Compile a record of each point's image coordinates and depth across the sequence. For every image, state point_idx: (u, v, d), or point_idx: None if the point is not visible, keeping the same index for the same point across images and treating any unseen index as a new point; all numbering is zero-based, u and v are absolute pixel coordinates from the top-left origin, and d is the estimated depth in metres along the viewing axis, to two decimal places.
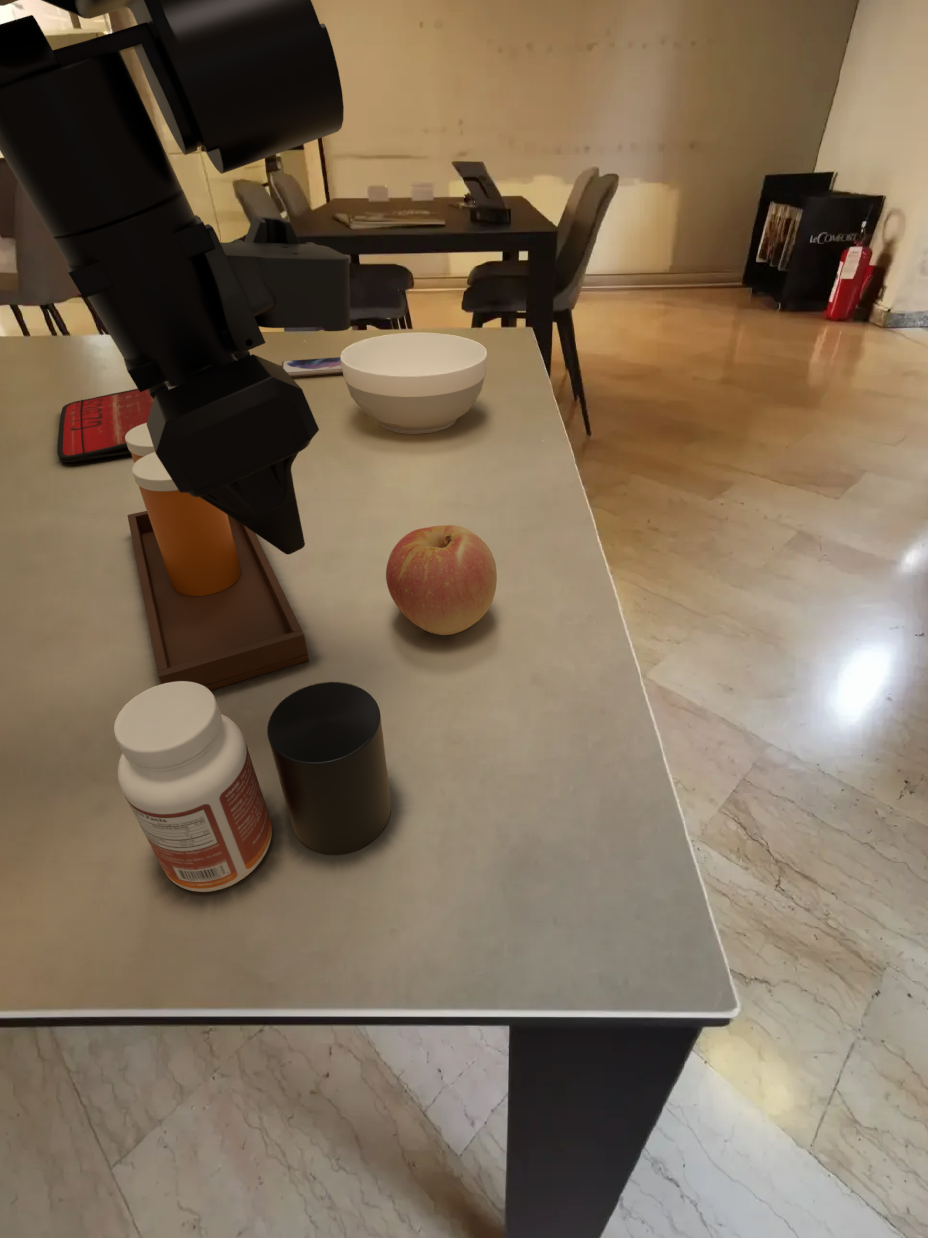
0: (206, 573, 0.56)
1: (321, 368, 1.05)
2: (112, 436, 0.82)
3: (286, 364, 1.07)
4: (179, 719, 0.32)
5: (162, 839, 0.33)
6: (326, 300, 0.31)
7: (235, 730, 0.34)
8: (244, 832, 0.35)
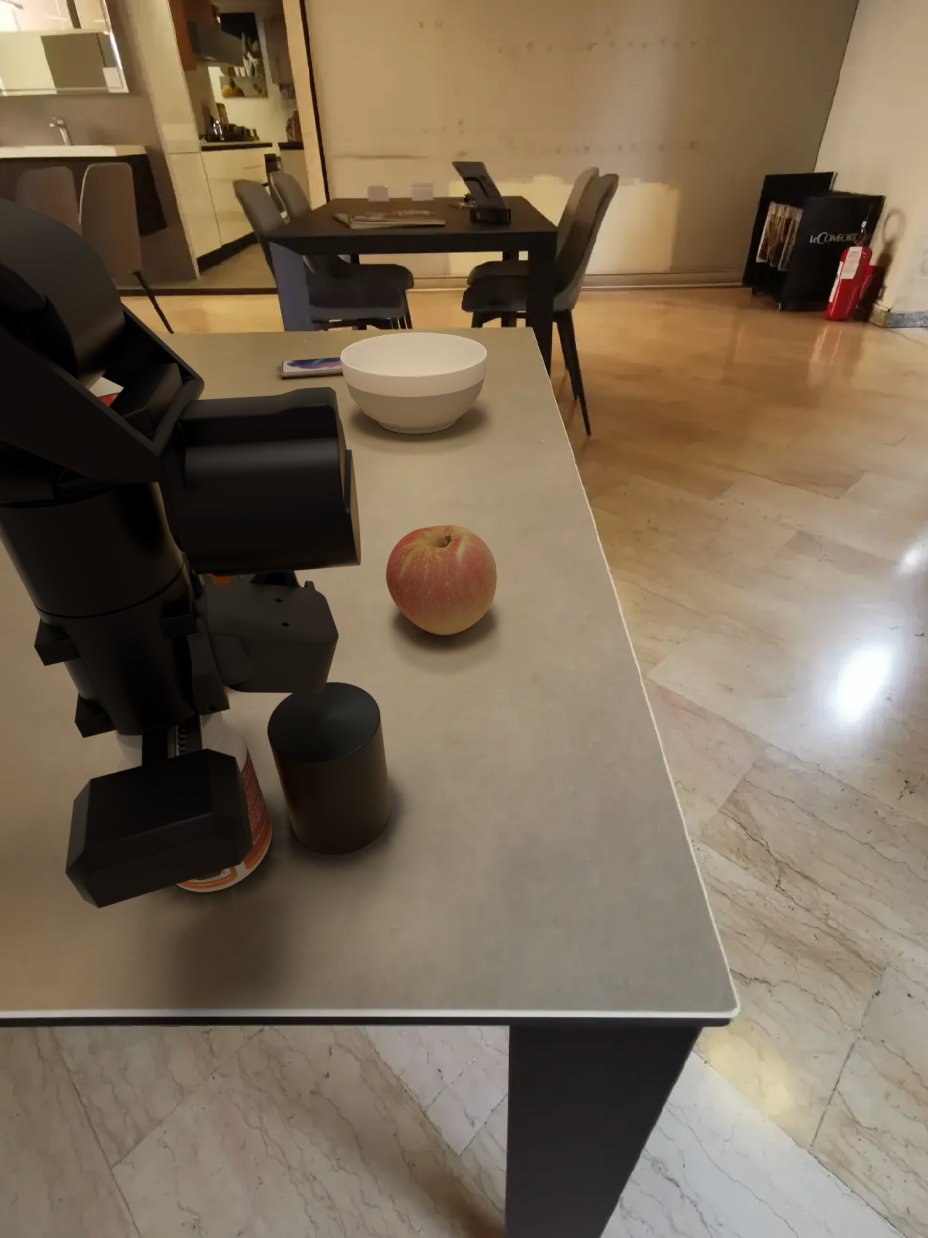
0: None
1: (321, 368, 1.05)
2: None
3: (286, 364, 1.07)
4: None
5: None
6: (304, 674, 0.30)
7: (235, 730, 0.34)
8: None
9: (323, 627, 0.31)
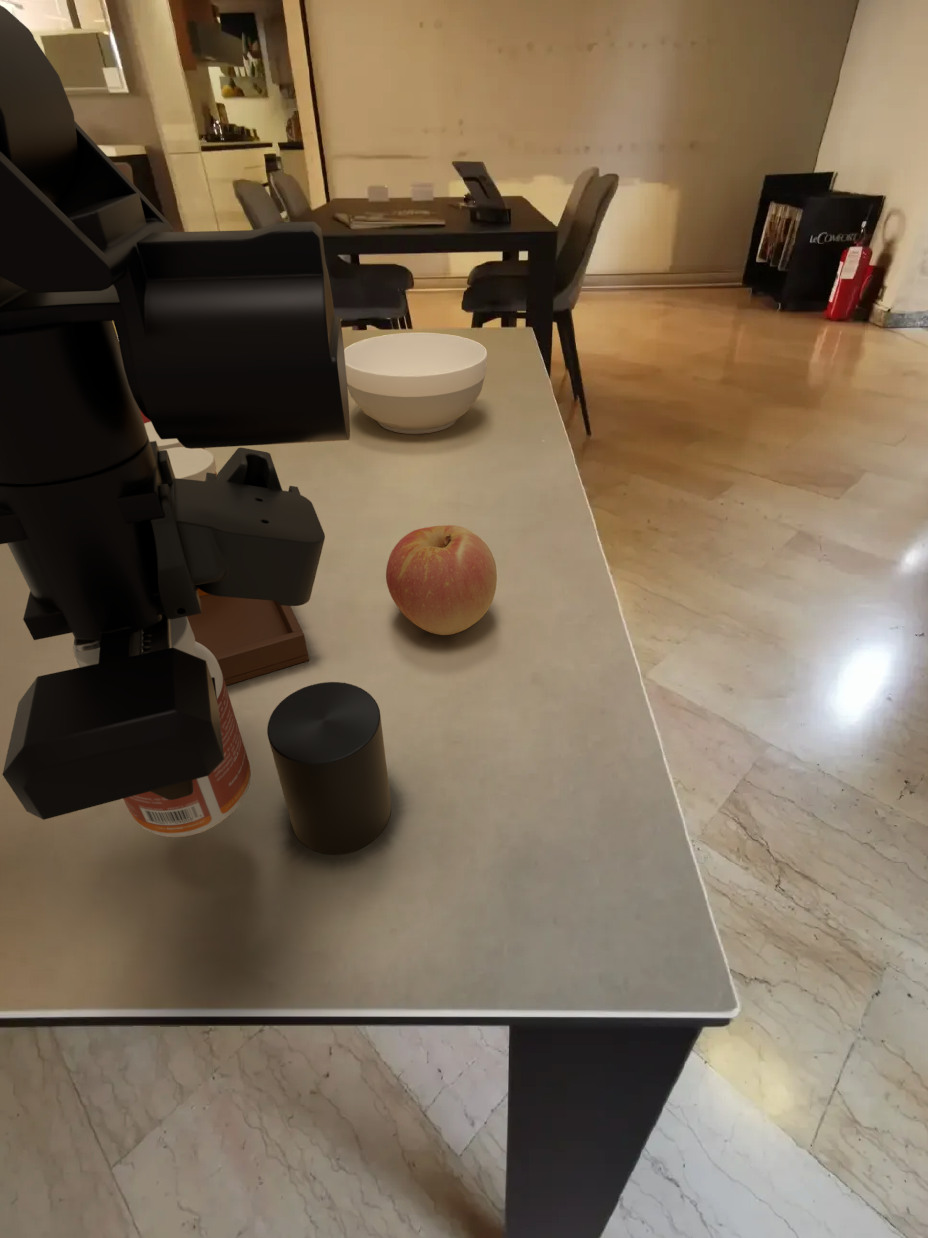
0: None
1: None
2: None
3: None
4: None
5: None
6: (286, 578, 0.27)
7: (210, 657, 0.31)
8: (219, 771, 0.32)
9: (308, 528, 0.28)
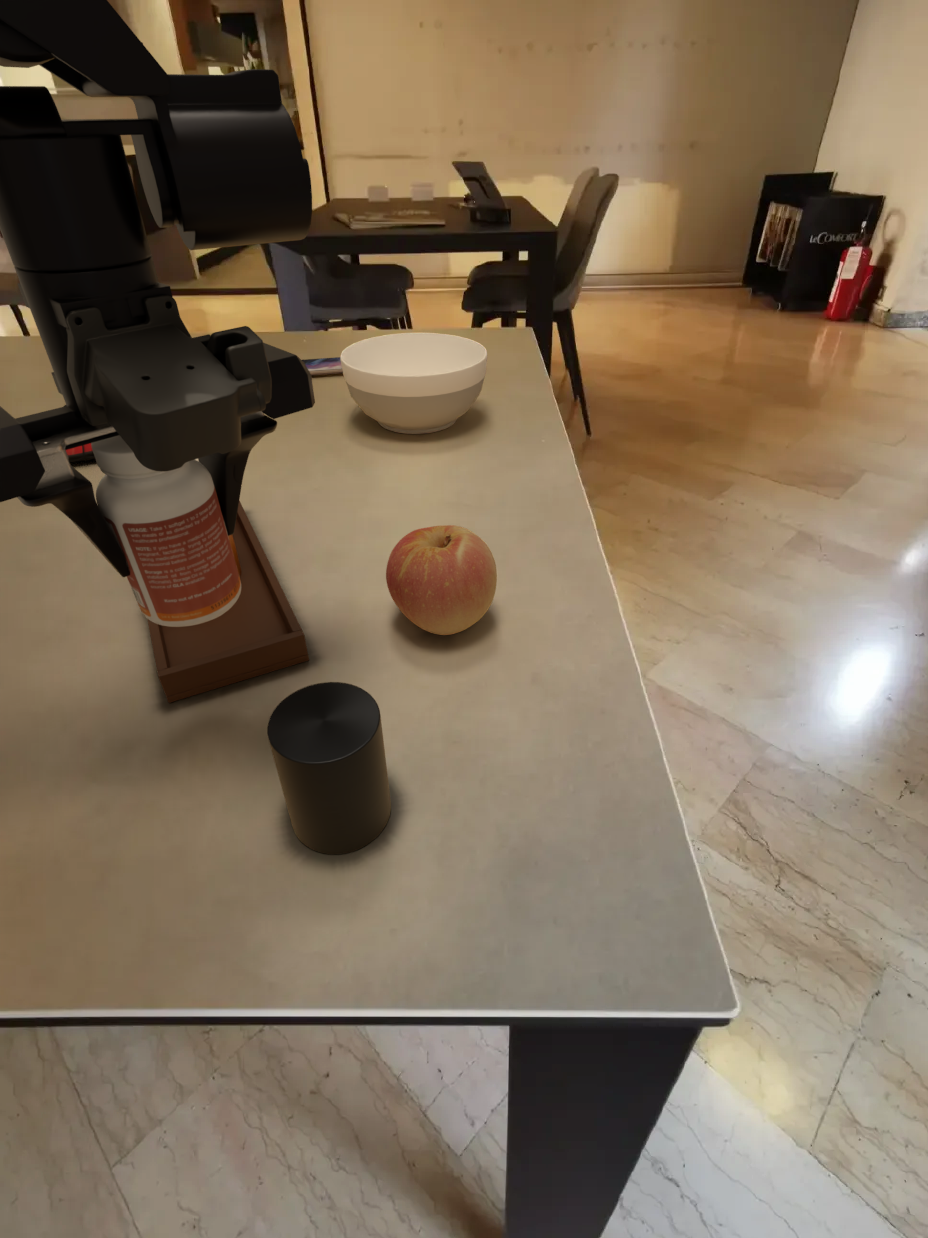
0: None
1: (321, 368, 1.05)
2: None
3: None
4: None
5: None
6: (130, 433, 0.29)
7: (179, 492, 0.36)
8: (153, 581, 0.38)
9: (165, 402, 0.28)
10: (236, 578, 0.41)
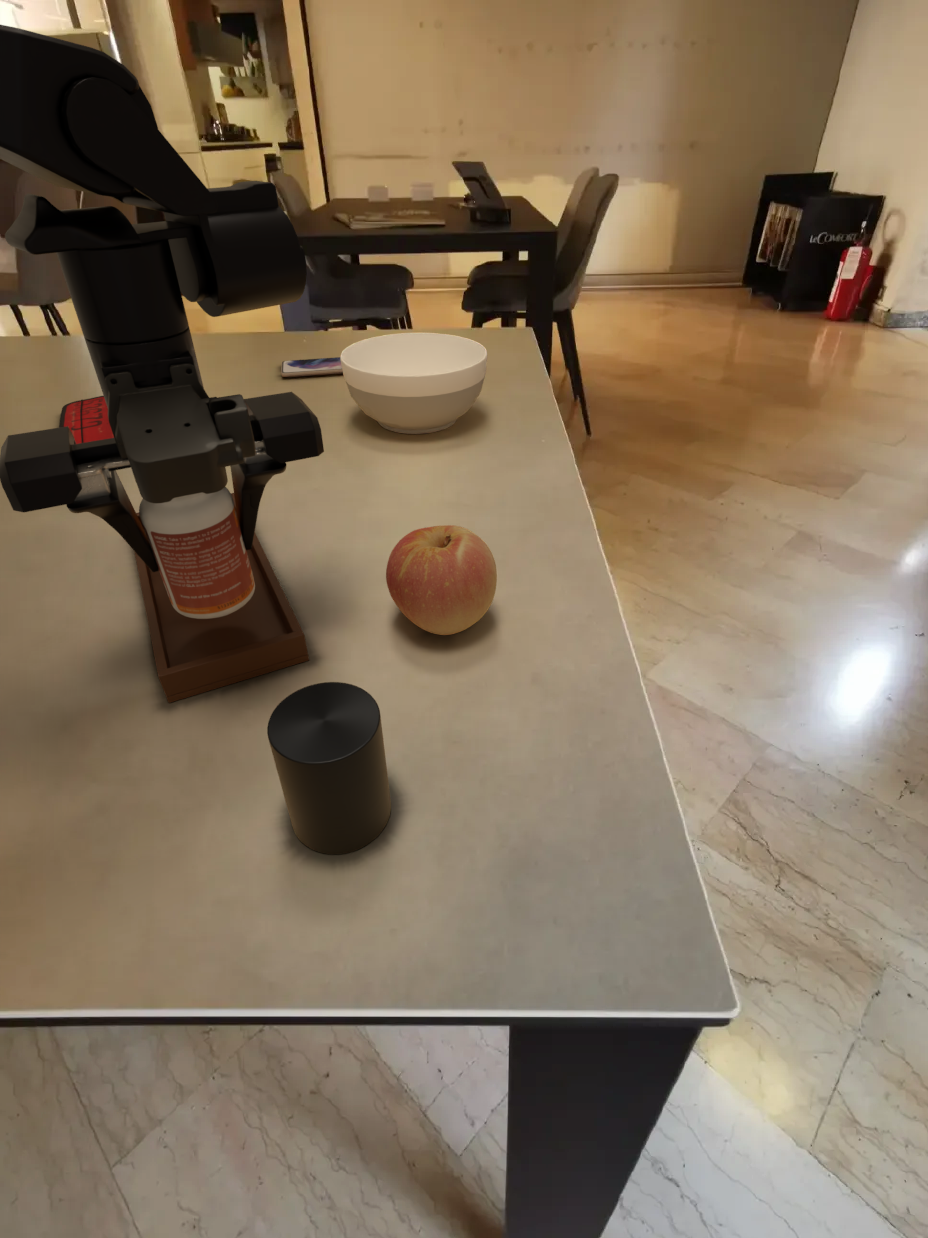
0: None
1: (321, 368, 1.05)
2: (112, 436, 0.82)
3: (286, 364, 1.07)
4: None
5: None
6: None
7: (194, 514, 0.44)
8: (172, 579, 0.46)
9: (154, 452, 0.35)
10: (246, 586, 0.49)
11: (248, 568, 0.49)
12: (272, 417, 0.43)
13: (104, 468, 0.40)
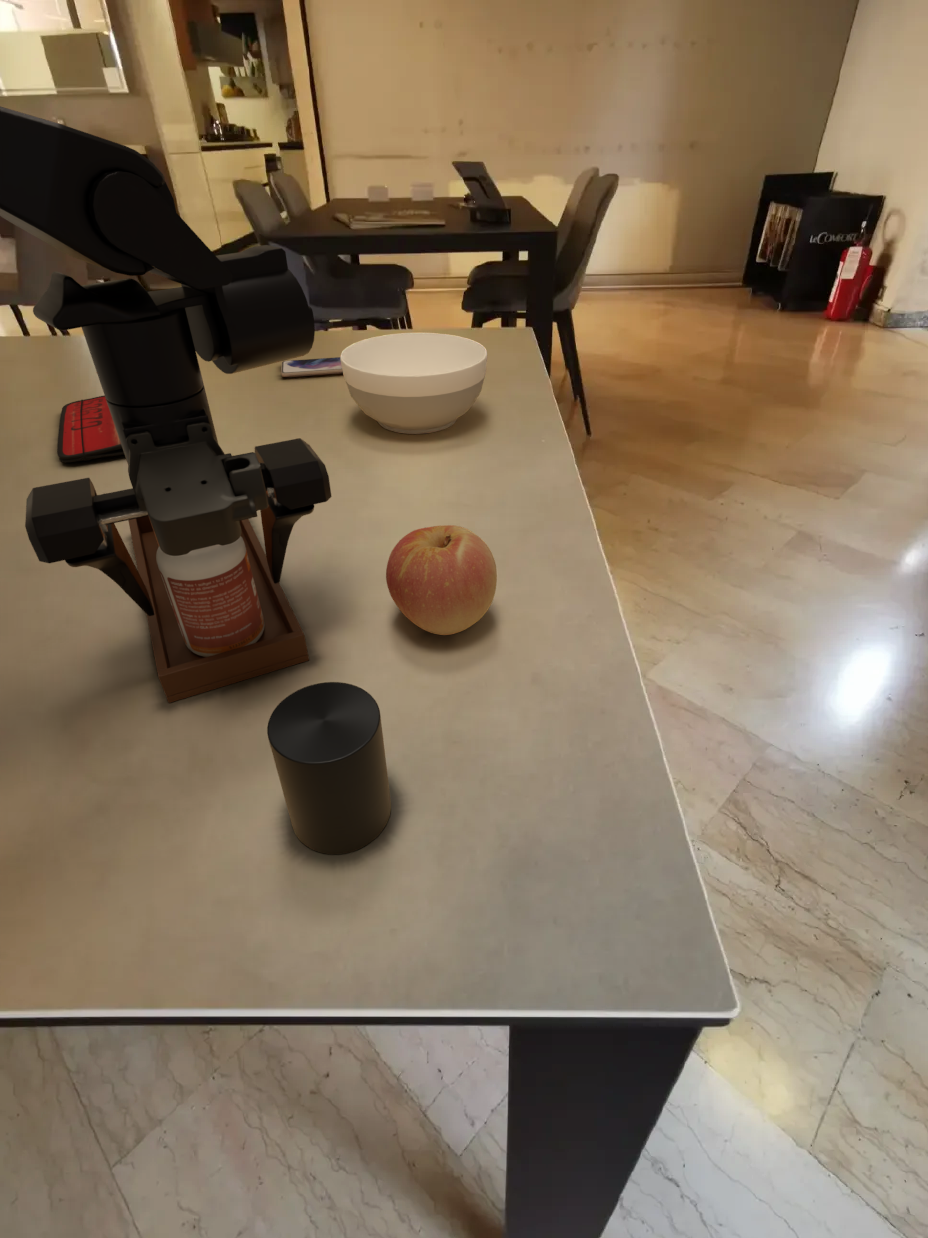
0: None
1: (321, 368, 1.05)
2: (112, 436, 0.82)
3: (286, 364, 1.07)
4: None
5: None
6: None
7: (209, 561, 0.46)
8: (187, 621, 0.49)
9: (173, 511, 0.38)
10: (256, 626, 0.51)
11: (258, 609, 0.52)
12: (282, 467, 0.45)
13: (124, 519, 0.43)
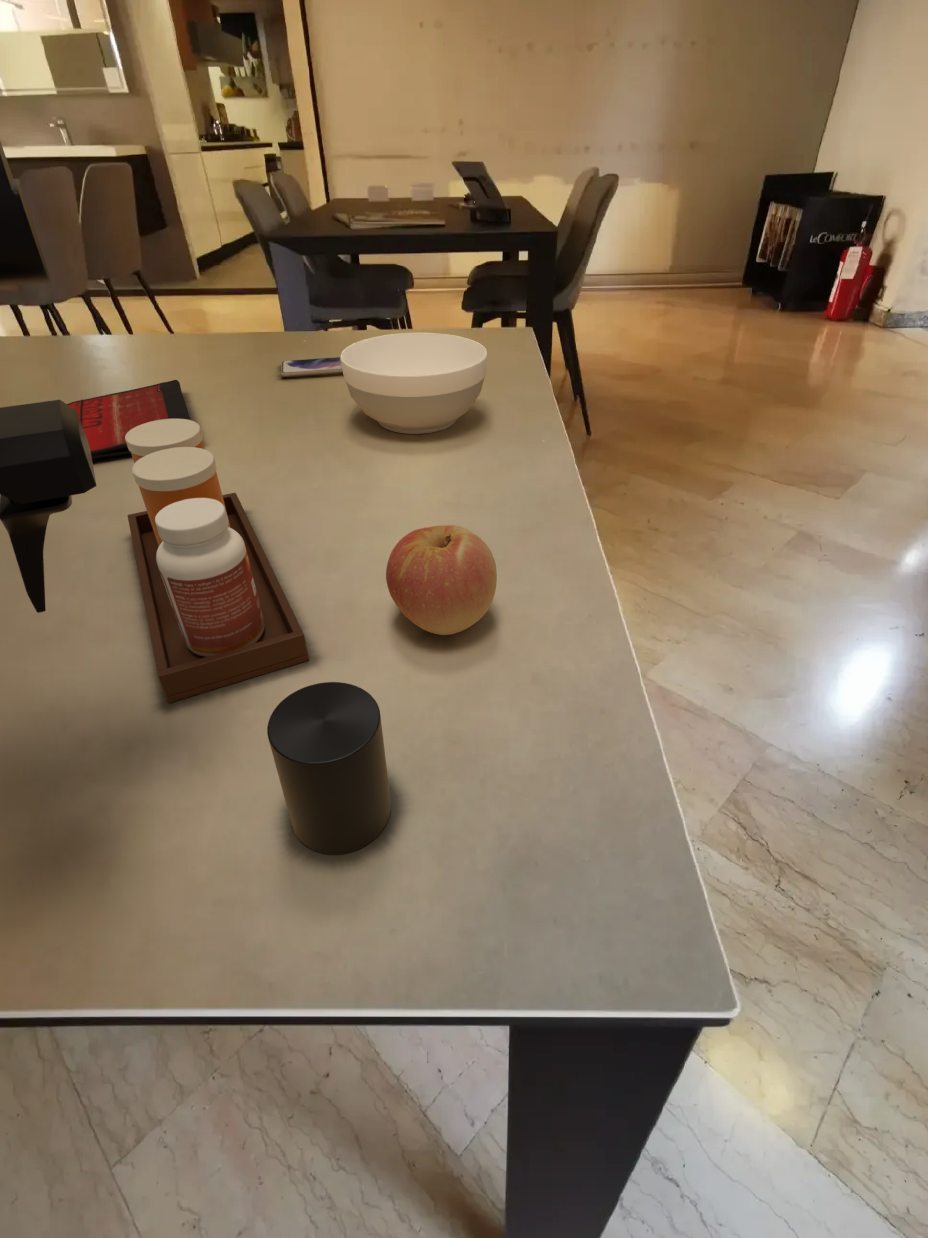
0: None
1: (321, 368, 1.05)
2: (112, 436, 0.82)
3: (286, 364, 1.07)
4: (182, 518, 0.46)
5: None
6: None
7: (209, 561, 0.46)
8: (187, 621, 0.49)
9: None
10: (256, 626, 0.51)
11: (258, 609, 0.52)
12: (2, 438, 0.29)
13: None
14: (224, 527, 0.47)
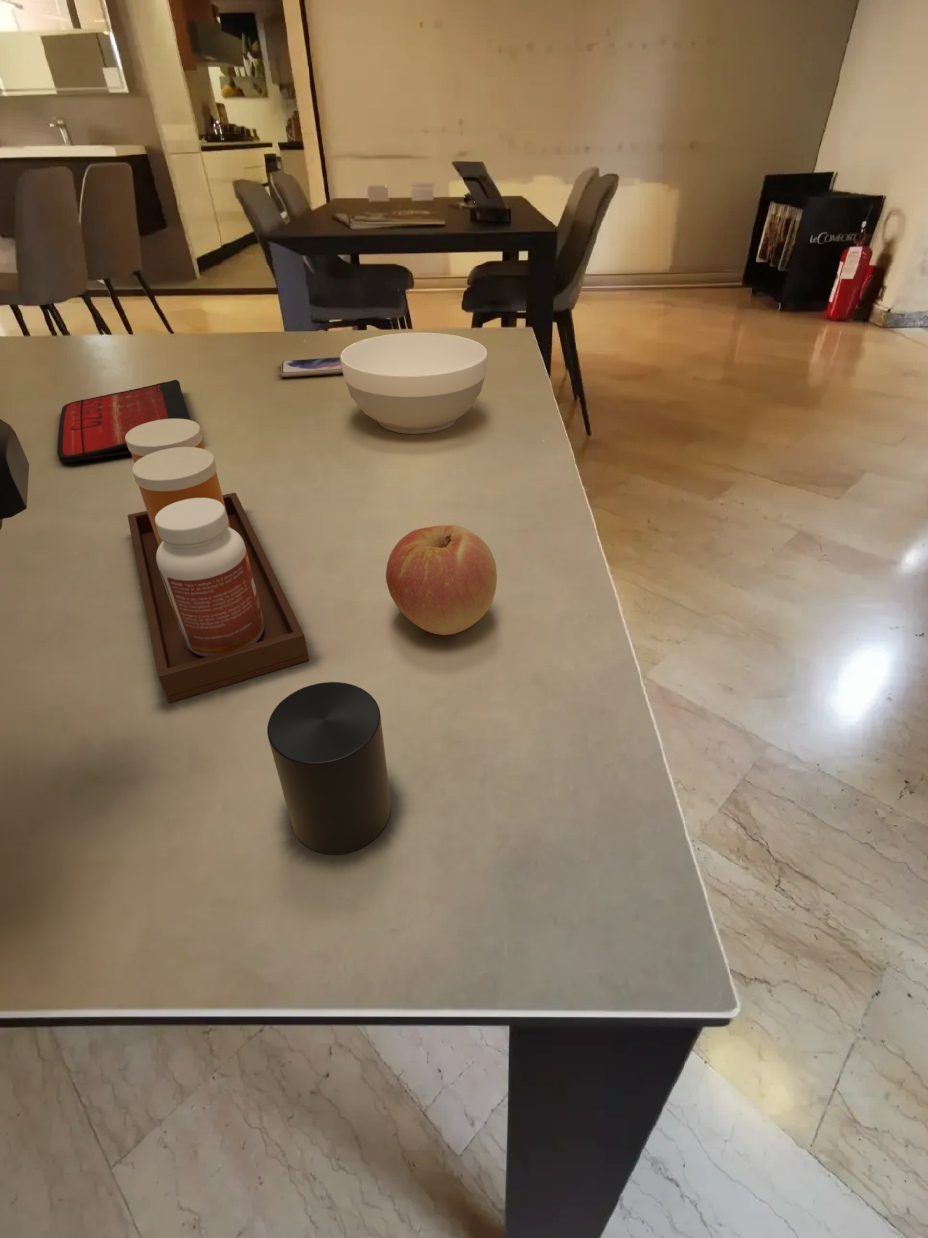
0: None
1: (321, 368, 1.05)
2: (112, 436, 0.82)
3: (286, 364, 1.07)
4: (181, 518, 0.46)
5: None
6: None
7: (209, 561, 0.46)
8: (187, 621, 0.49)
9: None
10: (256, 626, 0.51)
11: (258, 609, 0.52)
12: None
13: None
14: (224, 527, 0.47)
